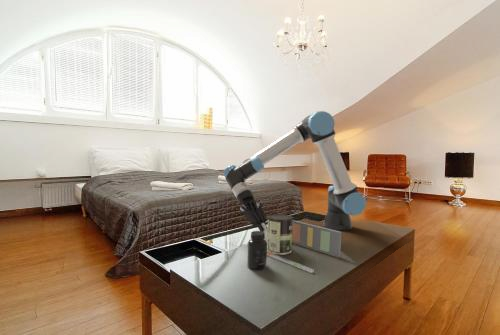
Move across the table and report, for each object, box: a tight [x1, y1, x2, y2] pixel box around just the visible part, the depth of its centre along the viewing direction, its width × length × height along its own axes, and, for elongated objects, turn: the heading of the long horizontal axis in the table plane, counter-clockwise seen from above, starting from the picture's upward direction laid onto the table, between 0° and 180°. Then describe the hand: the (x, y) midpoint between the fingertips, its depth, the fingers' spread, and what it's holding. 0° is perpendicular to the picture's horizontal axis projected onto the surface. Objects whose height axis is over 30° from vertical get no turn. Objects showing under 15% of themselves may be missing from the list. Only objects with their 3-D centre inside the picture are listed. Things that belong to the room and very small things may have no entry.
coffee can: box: [266, 213, 294, 256], centre depth 105 cm, size 10×10×14 cm
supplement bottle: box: [246, 230, 268, 271], centre depth 89 cm, size 7×7×12 cm
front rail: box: [267, 251, 315, 274], centre depth 95 cm, size 1×26×1 cm, turn 45°
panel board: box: [292, 219, 342, 259], centre depth 108 cm, size 1×26×10 cm, turn 45°
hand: (268, 237), depth 109 cm, fingers closed
